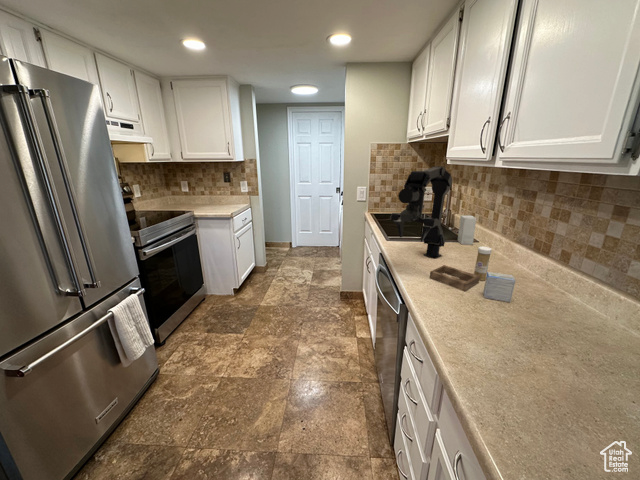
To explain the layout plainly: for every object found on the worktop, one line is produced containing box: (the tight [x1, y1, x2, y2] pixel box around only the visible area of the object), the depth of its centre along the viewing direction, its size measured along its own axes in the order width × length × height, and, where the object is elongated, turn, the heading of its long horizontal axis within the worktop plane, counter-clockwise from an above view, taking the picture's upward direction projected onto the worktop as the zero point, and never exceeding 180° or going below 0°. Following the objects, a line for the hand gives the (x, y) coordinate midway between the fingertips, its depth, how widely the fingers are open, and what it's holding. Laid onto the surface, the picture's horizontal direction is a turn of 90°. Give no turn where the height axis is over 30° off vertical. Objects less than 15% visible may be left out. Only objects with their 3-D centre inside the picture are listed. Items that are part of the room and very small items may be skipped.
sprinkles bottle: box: [473, 245, 493, 282], centre depth 107 cm, size 5×5×13 cm
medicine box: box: [482, 271, 516, 303], centre depth 93 cm, size 8×4×9 cm, turn 65°
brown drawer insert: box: [429, 264, 480, 292], centre depth 107 cm, size 15×11×3 cm
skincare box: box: [457, 214, 477, 246], centre depth 151 cm, size 8×7×16 cm
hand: (410, 239), depth 111 cm, fingers open, 9 cm apart
